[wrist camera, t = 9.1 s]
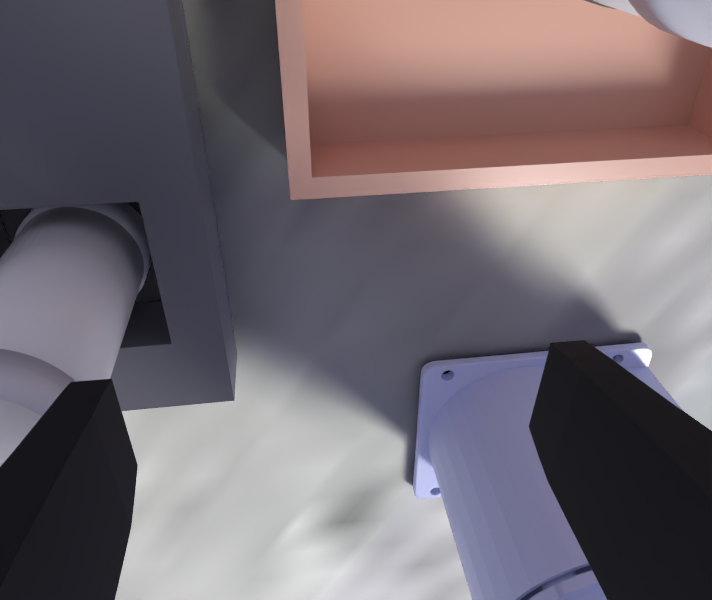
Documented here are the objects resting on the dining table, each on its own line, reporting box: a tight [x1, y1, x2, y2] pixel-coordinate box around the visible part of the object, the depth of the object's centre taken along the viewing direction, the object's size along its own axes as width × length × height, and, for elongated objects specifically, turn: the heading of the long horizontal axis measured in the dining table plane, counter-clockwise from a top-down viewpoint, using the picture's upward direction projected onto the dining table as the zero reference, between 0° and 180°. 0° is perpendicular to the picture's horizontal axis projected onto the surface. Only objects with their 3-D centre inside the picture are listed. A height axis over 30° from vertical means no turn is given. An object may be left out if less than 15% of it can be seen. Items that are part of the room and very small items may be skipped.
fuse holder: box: [0, 0, 237, 411], centre depth 15 cm, size 8×20×2 cm, turn 1°
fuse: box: [0, 202, 152, 466], centre depth 15 cm, size 4×4×9 cm
